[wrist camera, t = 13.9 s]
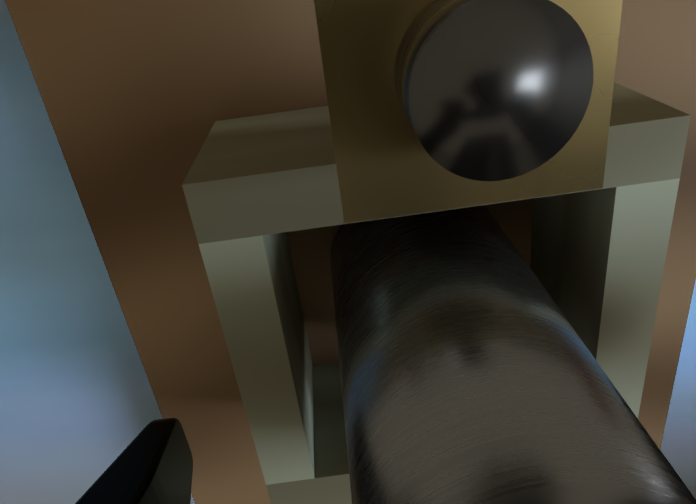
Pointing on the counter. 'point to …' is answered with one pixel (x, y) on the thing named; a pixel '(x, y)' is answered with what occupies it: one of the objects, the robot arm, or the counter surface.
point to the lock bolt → (466, 100)
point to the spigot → (475, 376)
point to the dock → (328, 220)
